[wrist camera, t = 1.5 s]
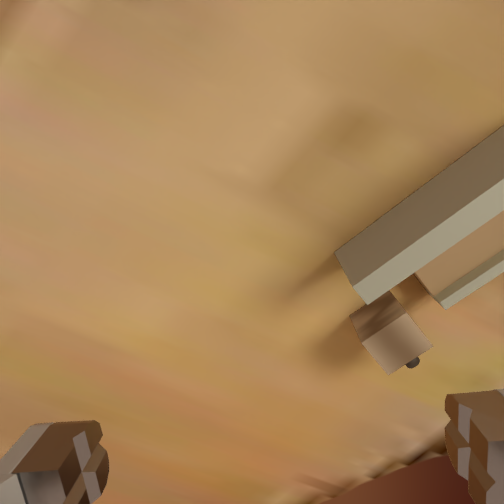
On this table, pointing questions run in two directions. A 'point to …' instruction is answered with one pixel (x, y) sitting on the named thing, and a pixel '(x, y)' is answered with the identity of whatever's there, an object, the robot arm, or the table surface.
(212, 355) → the table surface
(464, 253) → the grey boxy piece
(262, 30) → the table surface
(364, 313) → the cabinet block
